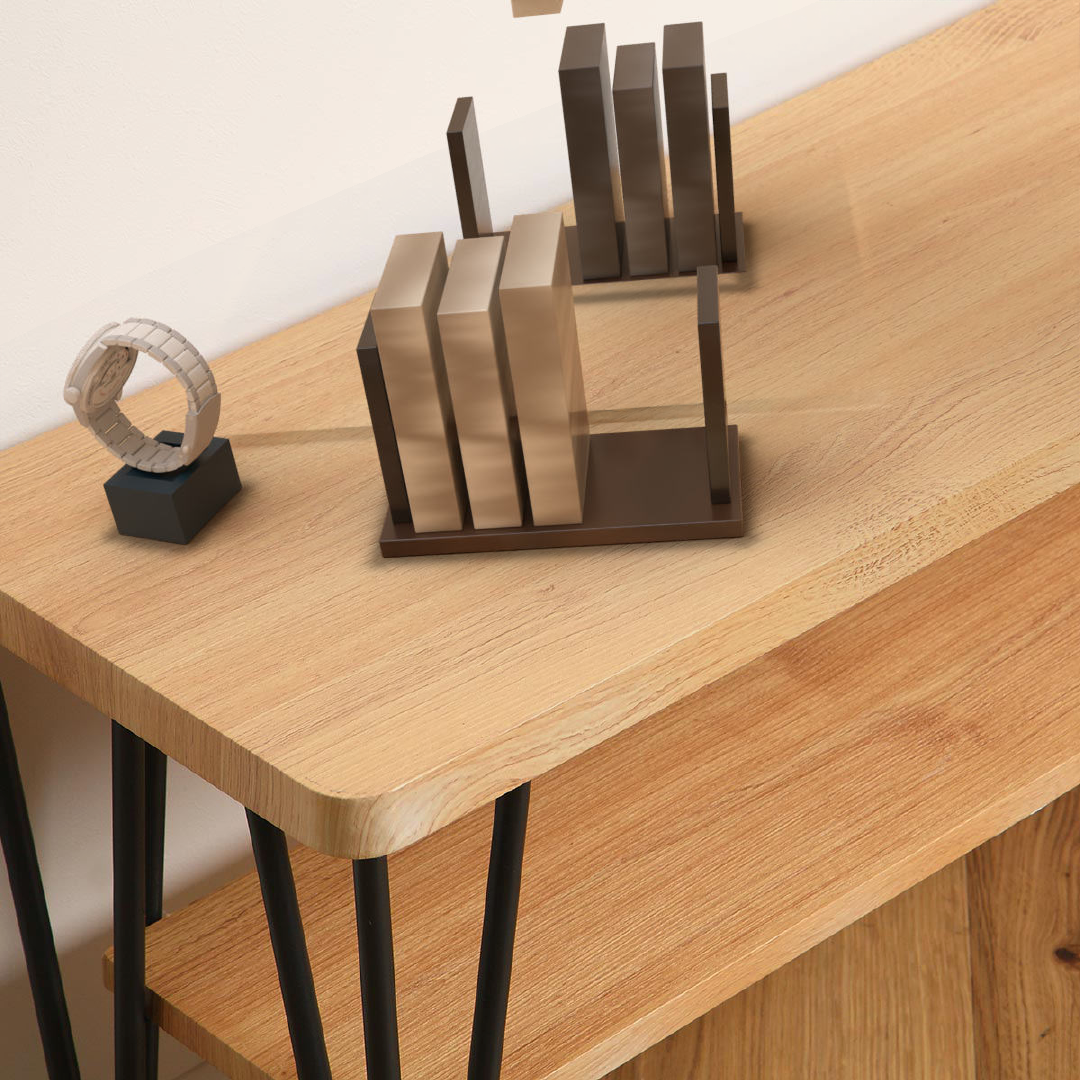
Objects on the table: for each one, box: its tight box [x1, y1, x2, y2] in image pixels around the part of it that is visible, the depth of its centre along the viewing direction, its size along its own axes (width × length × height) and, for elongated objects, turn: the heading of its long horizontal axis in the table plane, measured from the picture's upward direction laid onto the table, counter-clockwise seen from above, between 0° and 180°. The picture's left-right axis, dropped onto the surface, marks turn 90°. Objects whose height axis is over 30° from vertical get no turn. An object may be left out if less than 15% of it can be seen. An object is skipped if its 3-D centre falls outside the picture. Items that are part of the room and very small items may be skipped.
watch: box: [62, 317, 243, 545], centre depth 84 cm, size 6×8×11 cm
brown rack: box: [355, 210, 744, 558], centre depth 80 cm, size 18×9×14 cm, turn 86°
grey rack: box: [445, 21, 747, 287], centre depth 101 cm, size 18×9×14 cm, turn 86°
